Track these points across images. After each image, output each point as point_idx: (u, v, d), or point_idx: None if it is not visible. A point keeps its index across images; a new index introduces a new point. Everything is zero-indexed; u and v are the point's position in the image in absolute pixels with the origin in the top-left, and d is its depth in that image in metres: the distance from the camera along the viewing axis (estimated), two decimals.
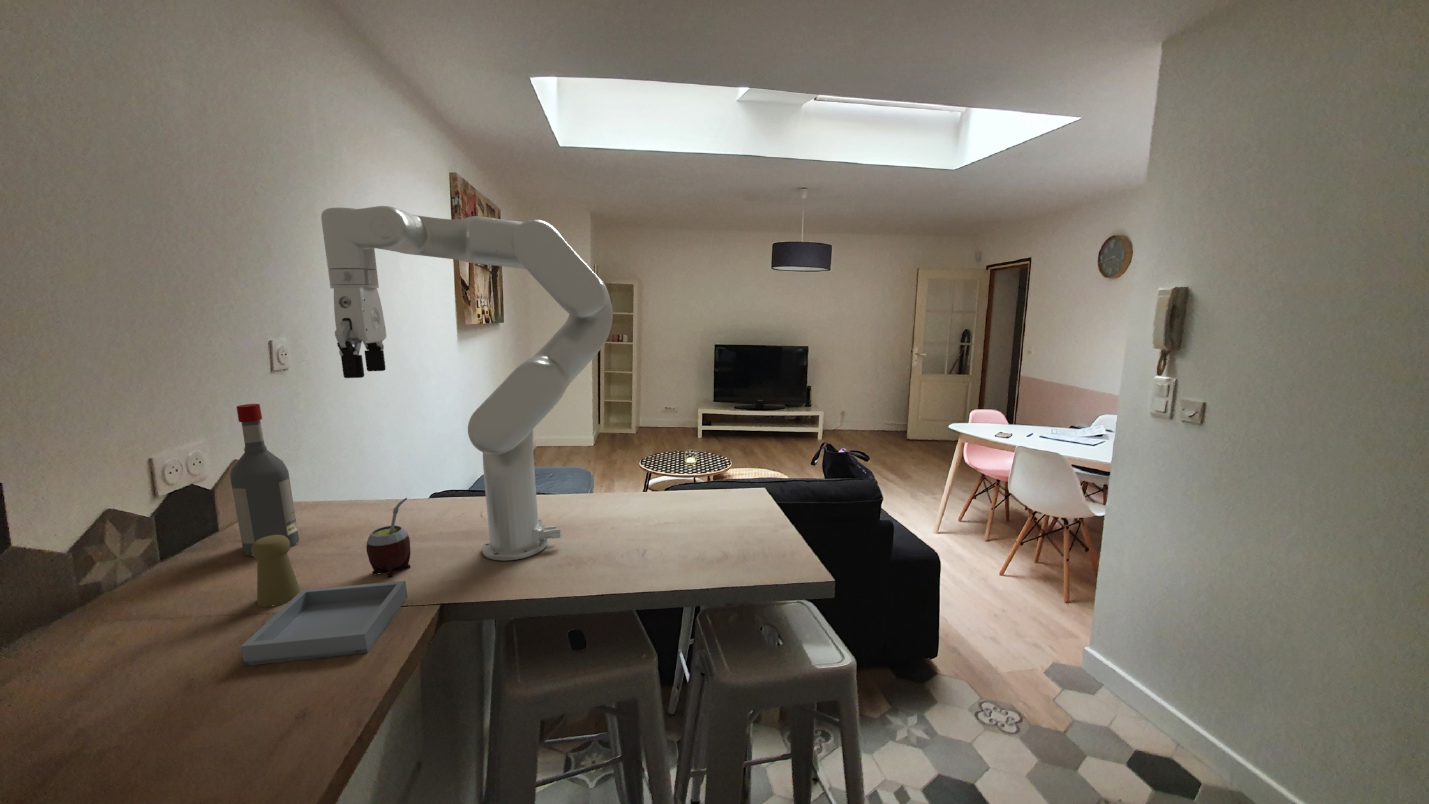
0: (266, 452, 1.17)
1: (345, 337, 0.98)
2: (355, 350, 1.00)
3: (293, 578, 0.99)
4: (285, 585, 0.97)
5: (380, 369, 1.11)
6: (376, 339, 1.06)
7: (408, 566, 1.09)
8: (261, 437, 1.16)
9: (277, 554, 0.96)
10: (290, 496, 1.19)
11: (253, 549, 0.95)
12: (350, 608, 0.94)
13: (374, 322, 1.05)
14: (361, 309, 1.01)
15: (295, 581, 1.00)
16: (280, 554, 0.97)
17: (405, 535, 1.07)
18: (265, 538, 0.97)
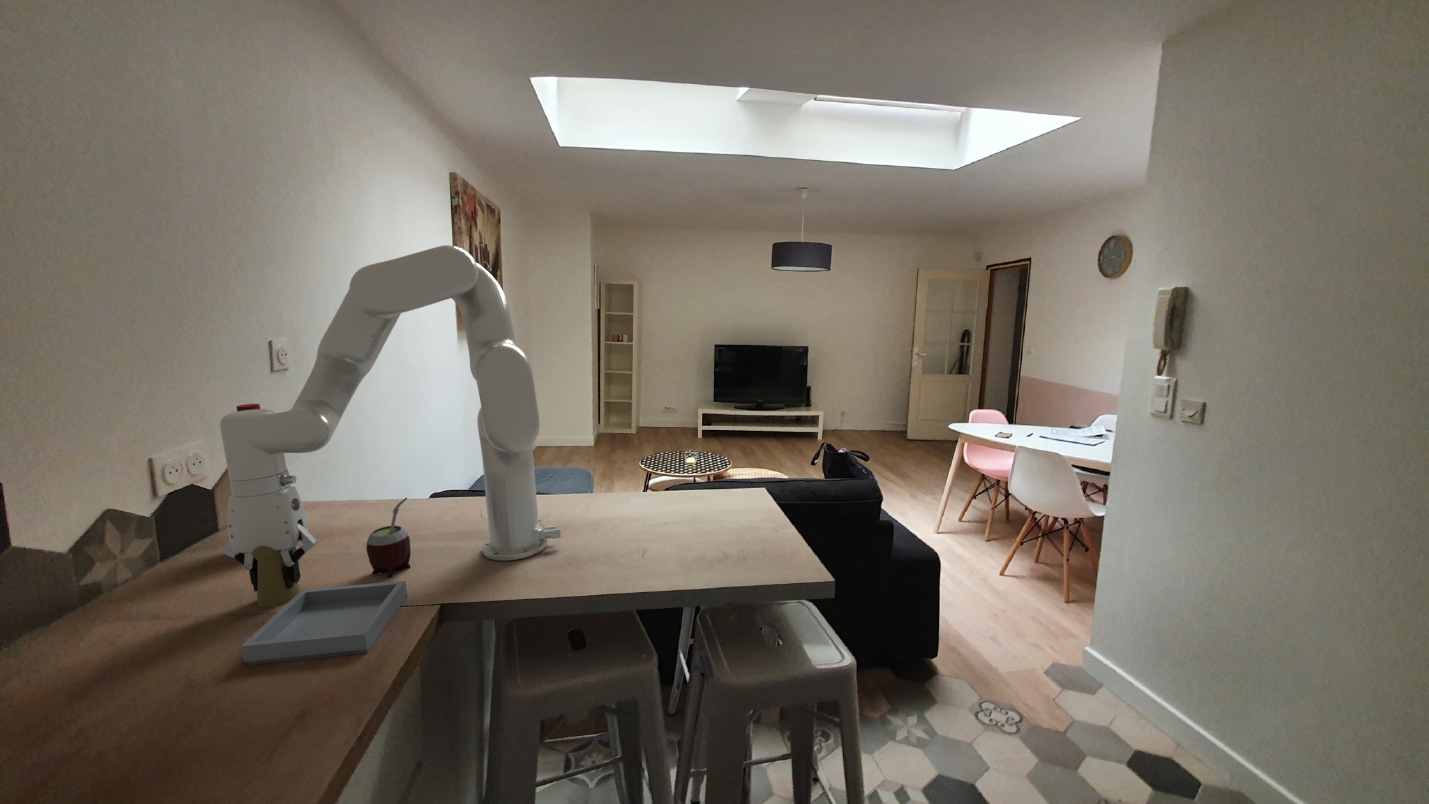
0: None
1: None
2: None
3: None
4: None
5: None
6: None
7: (408, 566, 1.09)
8: None
9: (277, 554, 0.96)
10: None
11: None
12: (350, 608, 0.94)
13: None
14: (302, 506, 0.99)
15: None
16: (280, 554, 0.97)
17: (405, 535, 1.07)
18: None
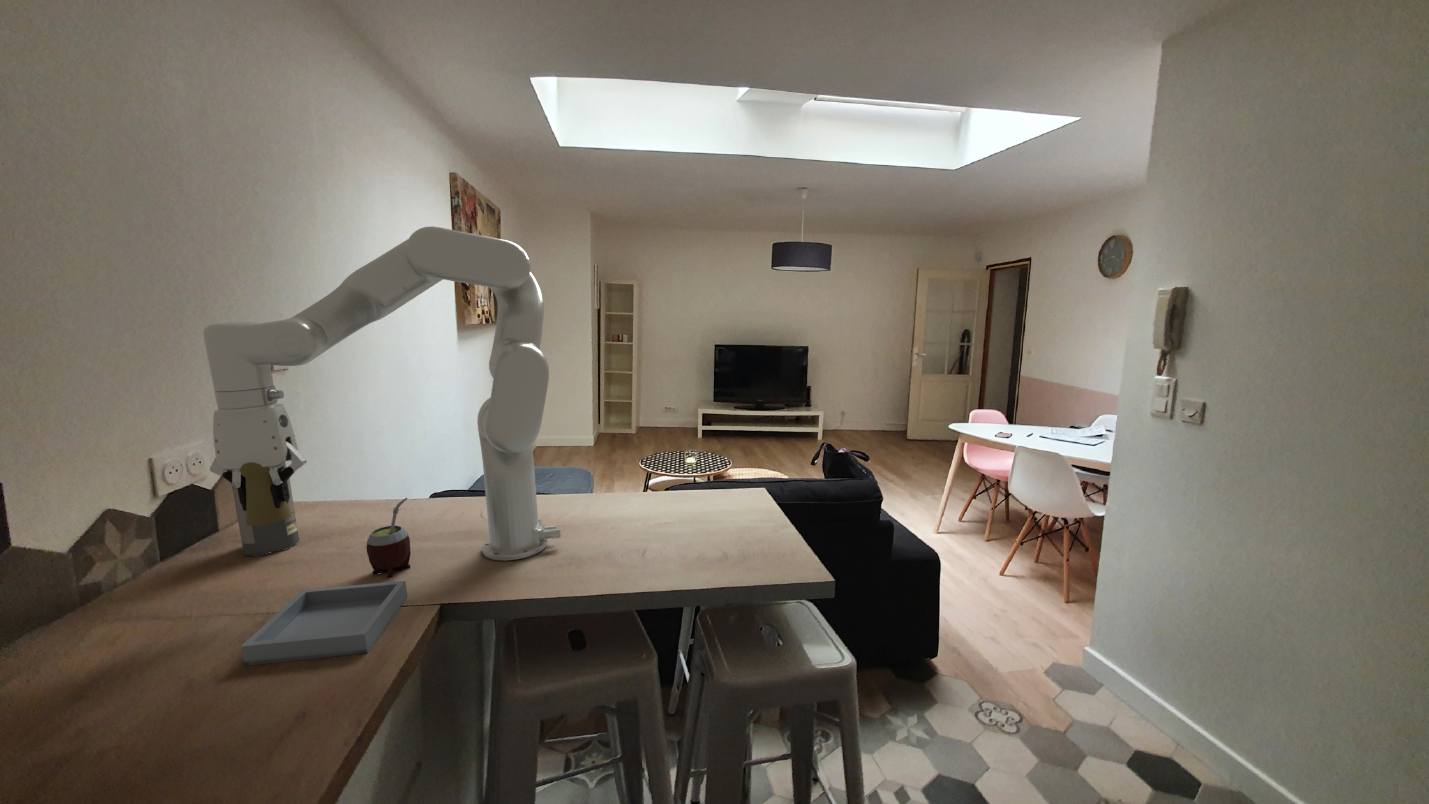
0: None
1: None
2: None
3: None
4: None
5: None
6: None
7: (408, 566, 1.09)
8: None
9: (265, 471, 0.94)
10: (290, 496, 1.19)
11: (241, 466, 0.93)
12: (350, 608, 0.94)
13: None
14: (291, 425, 0.97)
15: (285, 502, 0.97)
16: (268, 472, 0.94)
17: (405, 535, 1.07)
18: None
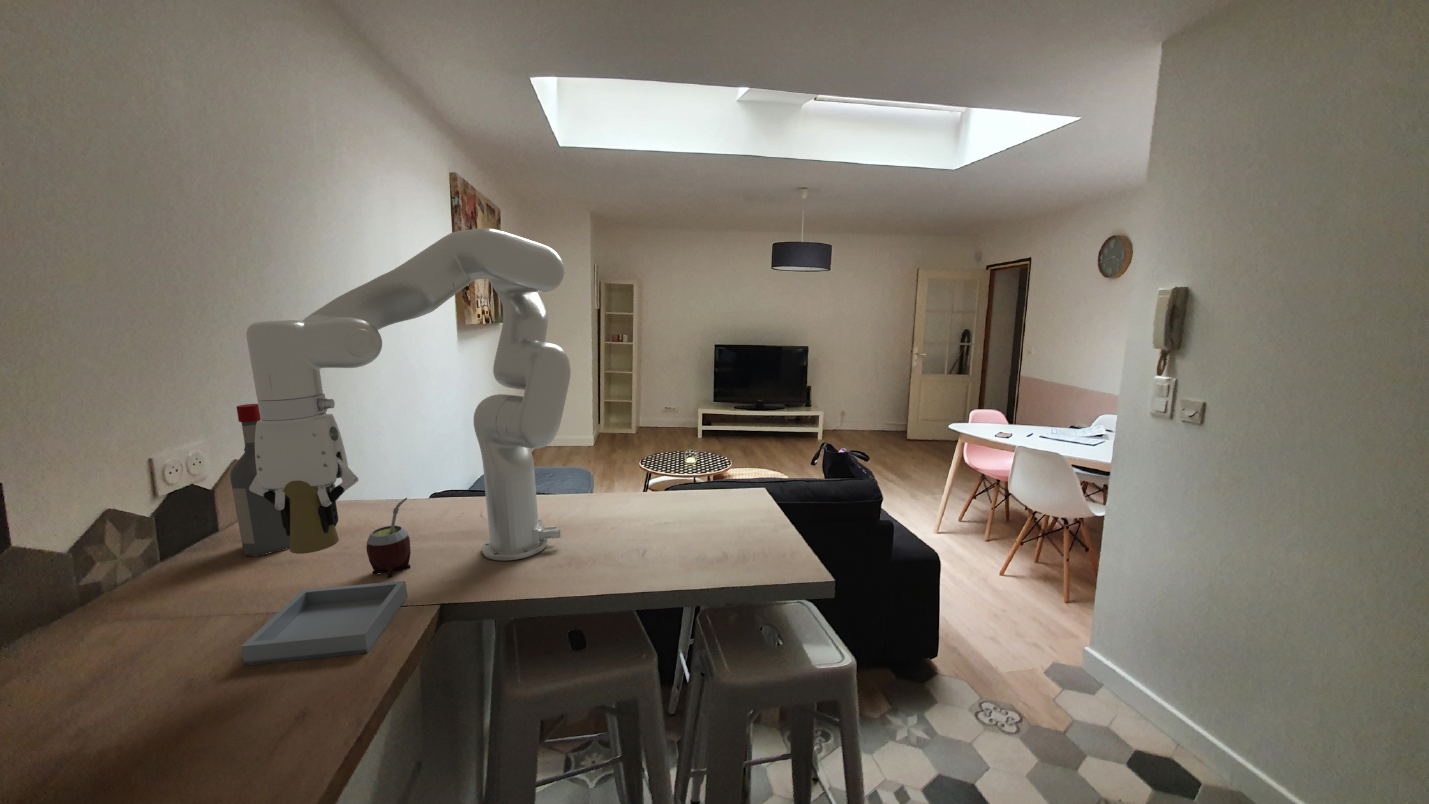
0: None
1: None
2: None
3: None
4: (322, 529, 0.83)
5: None
6: None
7: (408, 566, 1.09)
8: None
9: (313, 491, 0.82)
10: None
11: None
12: (350, 608, 0.94)
13: None
14: (341, 438, 0.85)
15: (333, 525, 0.85)
16: (316, 492, 0.82)
17: (405, 535, 1.07)
18: None
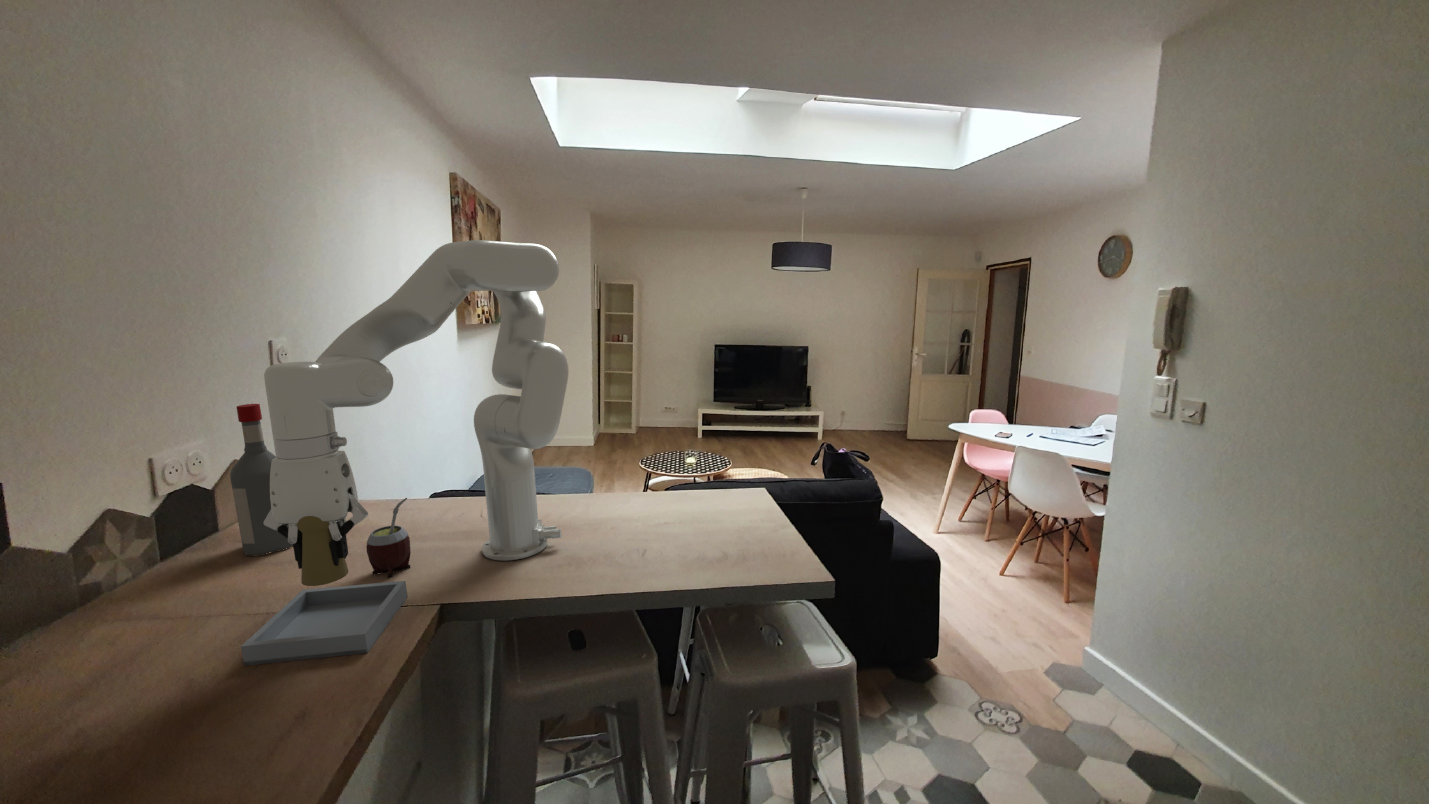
0: (266, 452, 1.17)
1: None
2: None
3: None
4: None
5: None
6: None
7: (408, 566, 1.09)
8: (261, 437, 1.16)
9: (325, 526, 0.85)
10: None
11: None
12: (350, 608, 0.94)
13: None
14: None
15: (343, 558, 0.88)
16: (328, 526, 0.85)
17: (405, 535, 1.07)
18: None
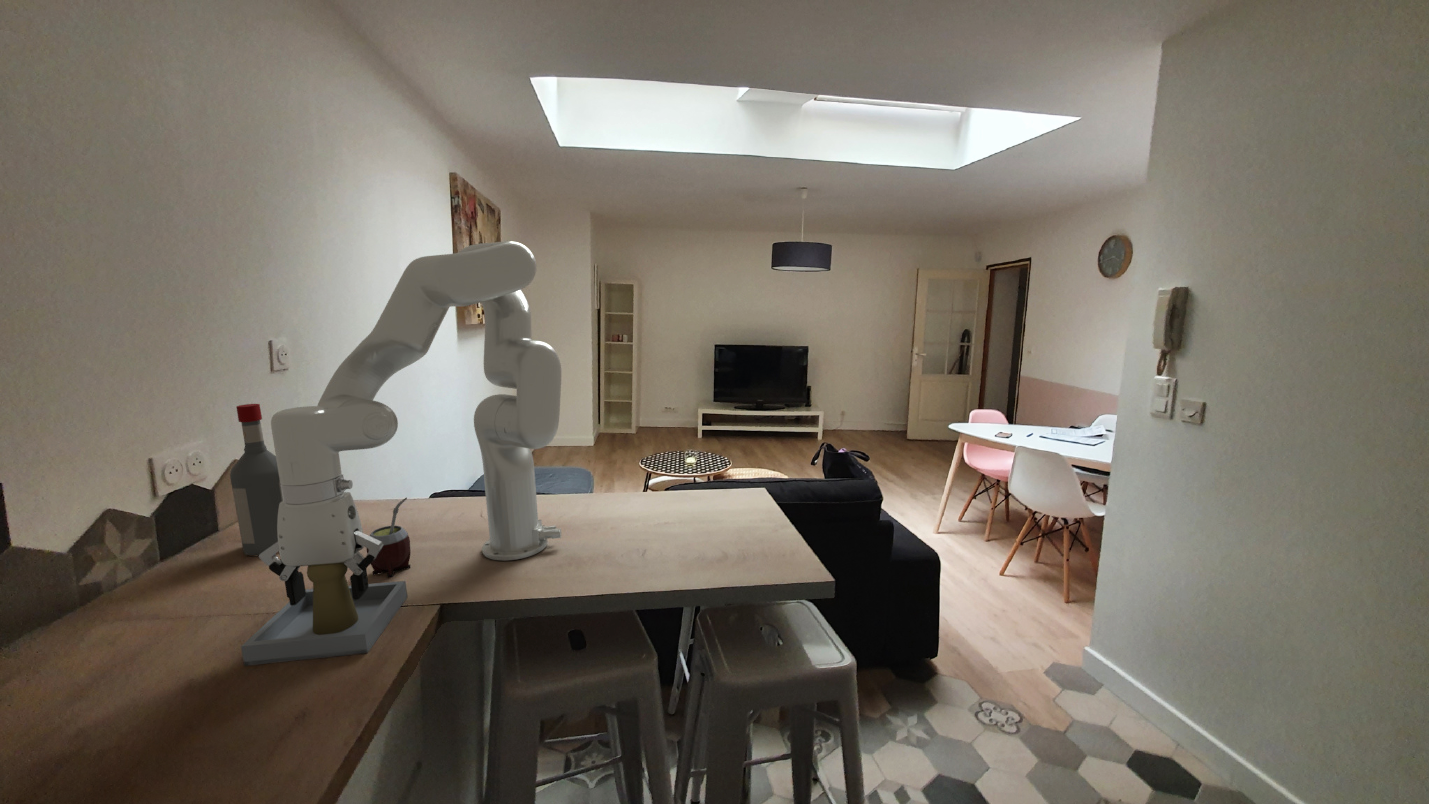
0: (266, 452, 1.17)
1: None
2: None
3: (351, 602, 0.90)
4: (343, 611, 0.88)
5: (303, 595, 0.89)
6: None
7: (408, 566, 1.09)
8: (261, 437, 1.16)
9: (335, 576, 0.87)
10: None
11: (309, 571, 0.86)
12: None
13: None
14: None
15: (353, 605, 0.90)
16: (338, 576, 0.87)
17: (405, 535, 1.07)
18: None
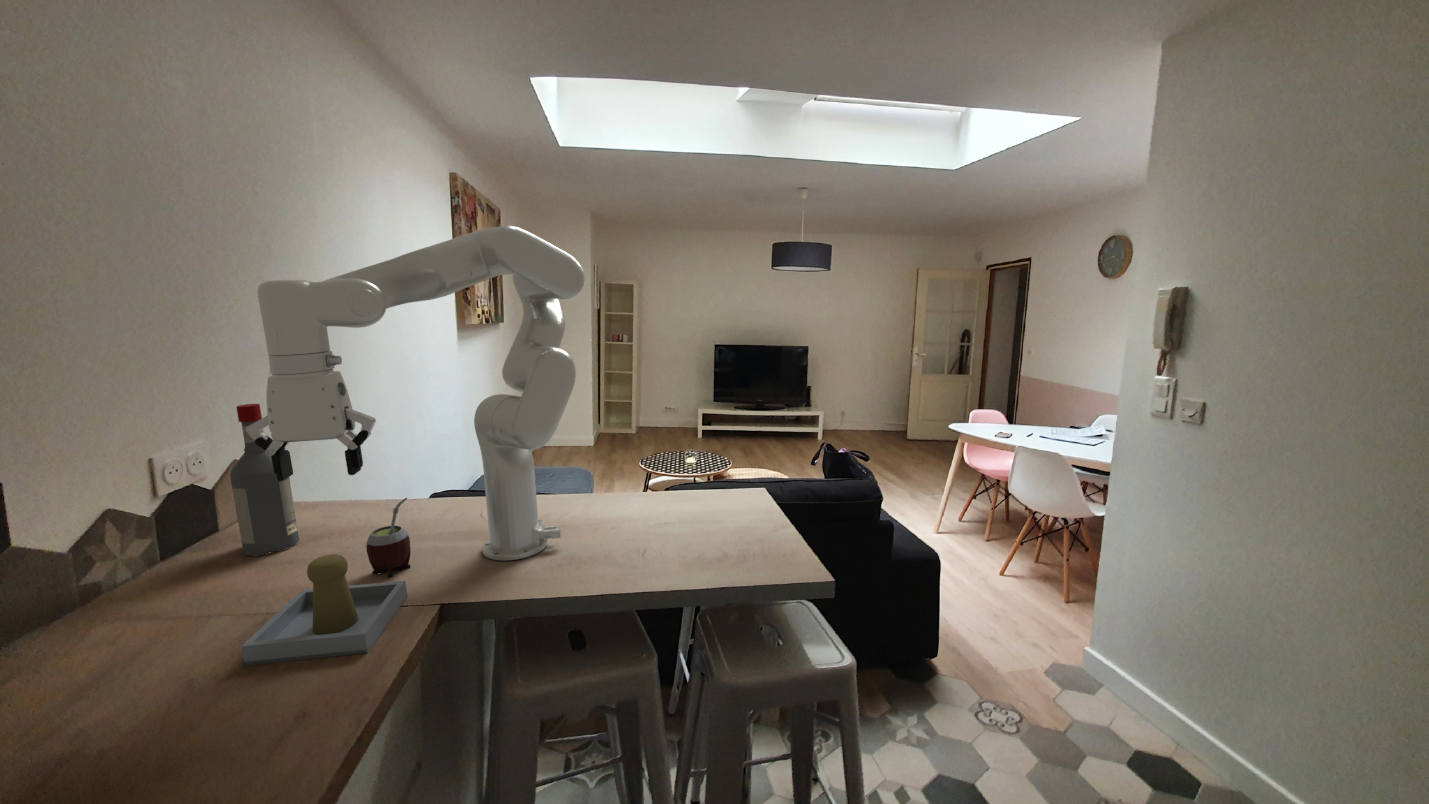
0: None
1: None
2: None
3: (351, 602, 0.90)
4: (343, 611, 0.88)
5: (290, 474, 0.89)
6: None
7: (408, 566, 1.09)
8: None
9: (335, 576, 0.87)
10: (290, 496, 1.19)
11: (309, 571, 0.86)
12: None
13: None
14: None
15: (353, 605, 0.90)
16: (338, 576, 0.87)
17: (405, 535, 1.07)
18: (321, 558, 0.87)
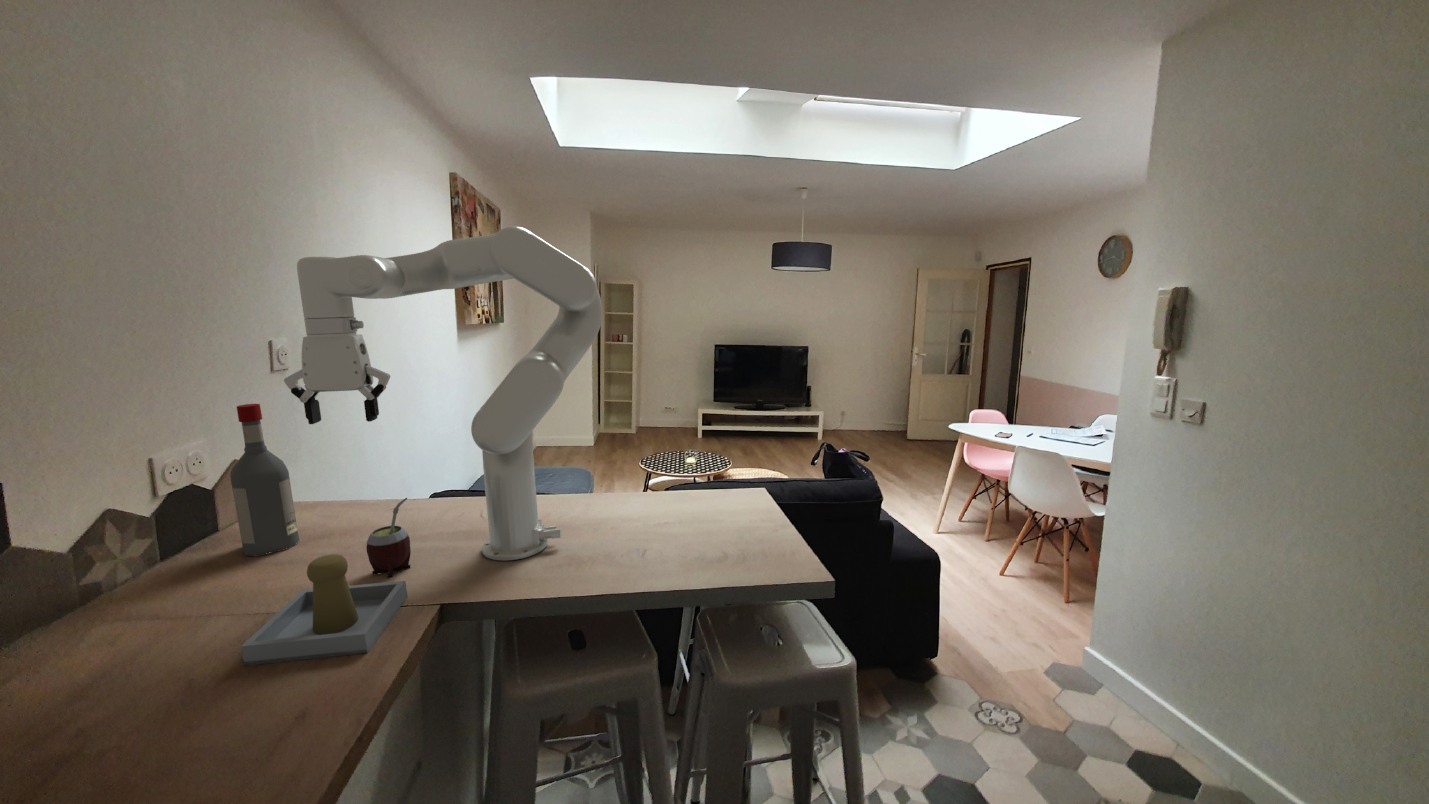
0: (266, 452, 1.17)
1: None
2: None
3: (351, 602, 0.90)
4: (343, 611, 0.88)
5: (319, 420, 1.06)
6: None
7: (408, 566, 1.09)
8: (261, 437, 1.16)
9: (335, 576, 0.87)
10: (290, 496, 1.19)
11: (309, 571, 0.86)
12: None
13: None
14: (367, 354, 1.07)
15: (353, 605, 0.90)
16: (338, 576, 0.87)
17: (405, 535, 1.07)
18: (321, 558, 0.87)
